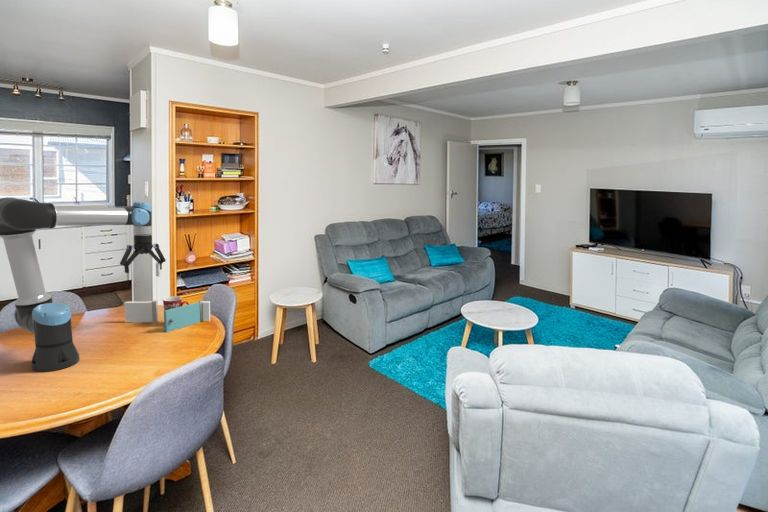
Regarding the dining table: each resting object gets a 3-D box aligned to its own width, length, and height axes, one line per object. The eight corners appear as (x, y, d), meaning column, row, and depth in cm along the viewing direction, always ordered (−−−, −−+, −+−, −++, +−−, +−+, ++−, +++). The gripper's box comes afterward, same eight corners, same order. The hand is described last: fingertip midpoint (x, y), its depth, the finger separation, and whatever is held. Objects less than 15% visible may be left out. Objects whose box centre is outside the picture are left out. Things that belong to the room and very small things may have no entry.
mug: (160, 326, 215) (159, 300, 213) (167, 321, 224) (165, 296, 222) (187, 326, 217) (186, 300, 215) (192, 320, 226) (191, 296, 224)
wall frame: (209, 321, 226) (208, 301, 224) (125, 322, 219) (124, 301, 218) (210, 320, 228) (209, 300, 226) (127, 321, 221) (126, 300, 220)
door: (202, 322, 224) (201, 303, 222) (169, 332, 207) (168, 312, 206) (197, 321, 225) (197, 302, 224) (164, 331, 209) (163, 310, 207)
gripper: (165, 232, 217) (165, 273, 220) (110, 234, 197) (112, 279, 200) (172, 234, 213) (173, 276, 216) (118, 236, 193) (119, 282, 196)
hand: (143, 277), depth 208 cm, fingers open, 13 cm apart
